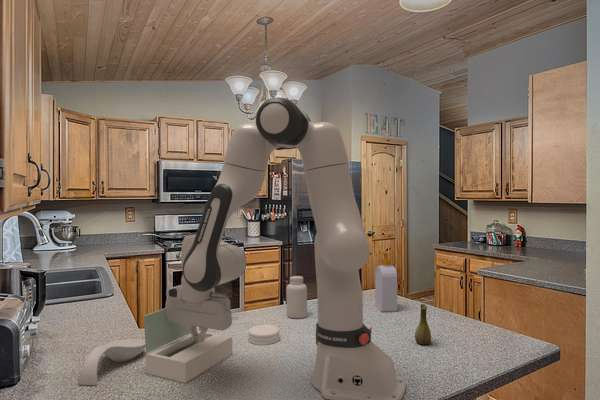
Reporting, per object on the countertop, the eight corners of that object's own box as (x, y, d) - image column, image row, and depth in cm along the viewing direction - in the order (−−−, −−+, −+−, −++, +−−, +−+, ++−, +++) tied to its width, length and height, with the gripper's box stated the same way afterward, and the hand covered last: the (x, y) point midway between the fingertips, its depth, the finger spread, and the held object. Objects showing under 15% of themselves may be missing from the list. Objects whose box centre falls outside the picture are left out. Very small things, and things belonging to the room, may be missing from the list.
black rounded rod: (202, 344, 115) (198, 338, 115) (167, 363, 102) (163, 356, 103) (197, 348, 116) (194, 342, 116) (162, 366, 103) (159, 359, 103)
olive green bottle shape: (426, 347, 118) (426, 308, 118) (411, 343, 121) (410, 305, 121) (434, 342, 122) (434, 304, 122) (419, 338, 125) (419, 301, 125)
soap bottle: (373, 306, 164) (373, 251, 164) (389, 305, 164) (389, 251, 164) (380, 312, 155) (380, 254, 155) (397, 311, 155) (397, 254, 155)
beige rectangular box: (232, 353, 114) (232, 336, 114) (185, 383, 96) (185, 362, 96) (196, 346, 120) (196, 330, 120) (146, 373, 101) (146, 354, 101)
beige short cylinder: (242, 342, 123) (242, 331, 123) (258, 332, 132) (258, 322, 132) (269, 347, 119) (269, 336, 119) (284, 337, 128) (284, 326, 128)
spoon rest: (115, 349, 119) (115, 325, 119) (153, 349, 118) (153, 326, 118) (64, 386, 95) (64, 357, 95) (111, 387, 94) (111, 358, 94)
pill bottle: (294, 311, 156) (294, 274, 156) (311, 315, 152) (311, 276, 152) (282, 316, 150) (282, 277, 150) (299, 320, 145) (299, 280, 145)
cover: (194, 298, 119) (192, 298, 120) (145, 315, 102) (143, 315, 102) (196, 330, 119) (194, 330, 119) (148, 352, 102) (146, 352, 102)
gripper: (236, 292, 105) (236, 343, 105) (177, 285, 114) (177, 332, 114) (222, 297, 99) (222, 351, 99) (161, 289, 108) (161, 339, 108)
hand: (198, 341), depth 107 cm, fingers closed
